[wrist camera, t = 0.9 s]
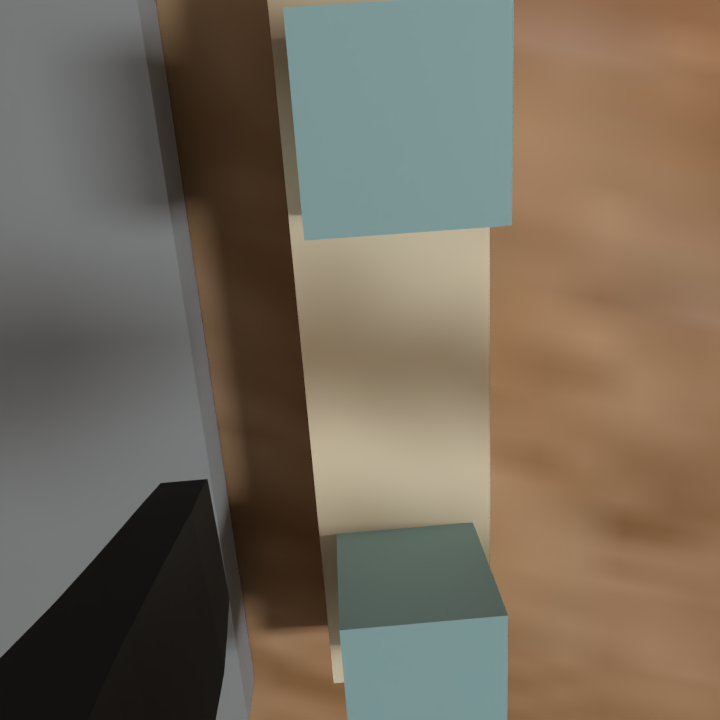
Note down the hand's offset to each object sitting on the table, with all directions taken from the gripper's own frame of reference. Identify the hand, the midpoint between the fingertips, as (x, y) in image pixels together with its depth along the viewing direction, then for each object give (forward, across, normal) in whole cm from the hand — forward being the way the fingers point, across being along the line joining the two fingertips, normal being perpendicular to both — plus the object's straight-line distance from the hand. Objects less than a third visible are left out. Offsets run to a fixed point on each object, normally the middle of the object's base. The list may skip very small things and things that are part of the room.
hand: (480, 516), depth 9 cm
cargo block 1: (+10, 0, -4) cm, 10 cm away
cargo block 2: (+8, 0, +9) cm, 12 cm away
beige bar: (+12, 0, +3) cm, 12 cm away
